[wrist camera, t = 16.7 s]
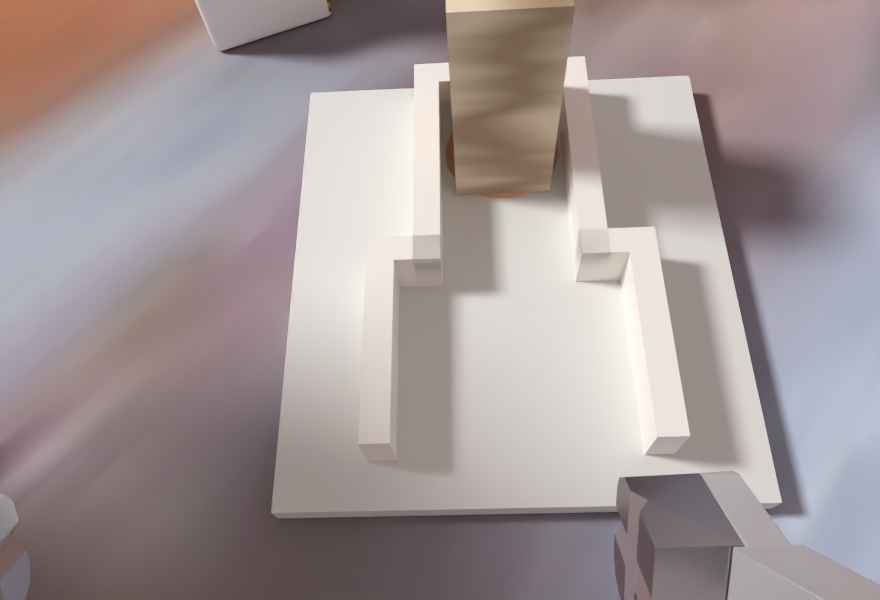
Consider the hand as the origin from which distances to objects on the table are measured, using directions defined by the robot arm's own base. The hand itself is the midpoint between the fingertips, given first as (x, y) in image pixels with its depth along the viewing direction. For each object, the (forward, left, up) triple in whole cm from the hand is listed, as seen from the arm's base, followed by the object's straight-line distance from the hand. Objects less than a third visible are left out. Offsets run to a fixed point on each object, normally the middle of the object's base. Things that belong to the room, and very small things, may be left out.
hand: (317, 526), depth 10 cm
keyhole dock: (+4, +15, -20) cm, 26 cm away
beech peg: (+4, +21, -19) cm, 29 cm away
